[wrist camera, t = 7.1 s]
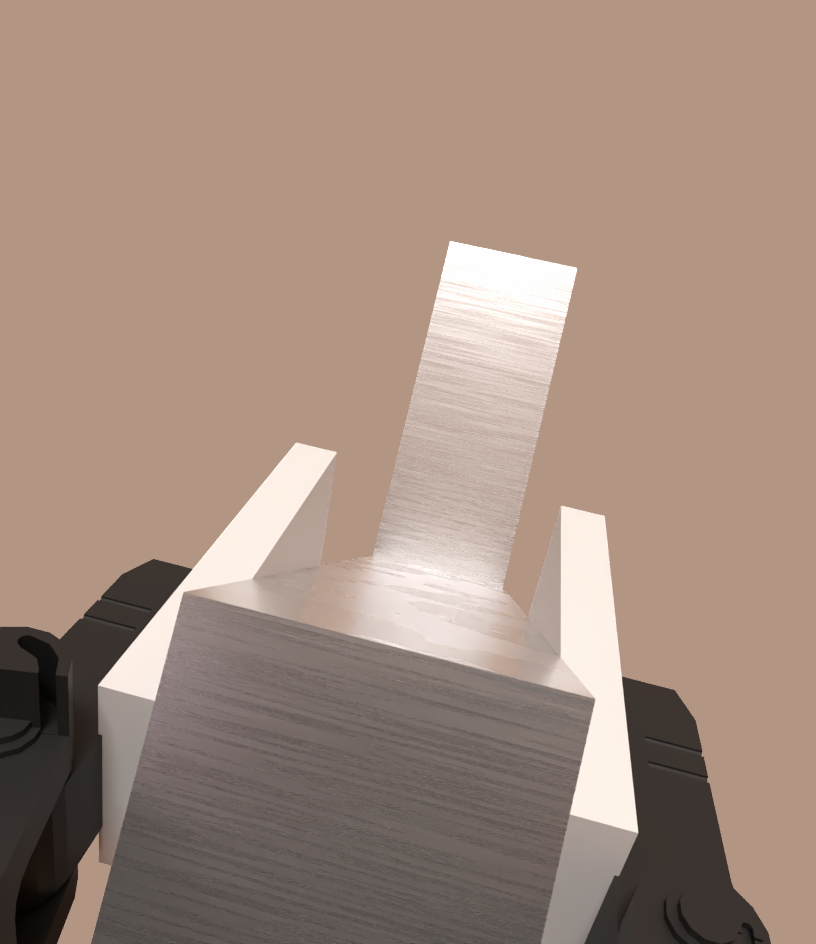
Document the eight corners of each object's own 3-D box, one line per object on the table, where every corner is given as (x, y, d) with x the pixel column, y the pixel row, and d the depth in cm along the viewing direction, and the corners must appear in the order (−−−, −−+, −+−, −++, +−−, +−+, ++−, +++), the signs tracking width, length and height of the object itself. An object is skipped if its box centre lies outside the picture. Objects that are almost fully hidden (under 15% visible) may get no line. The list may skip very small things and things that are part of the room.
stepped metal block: (495, 1147, 7) (816, -288, 8) (72, 1014, 7) (429, -344, 8) (470, 693, 27) (560, 306, 28) (358, 663, 27) (451, 283, 28)
